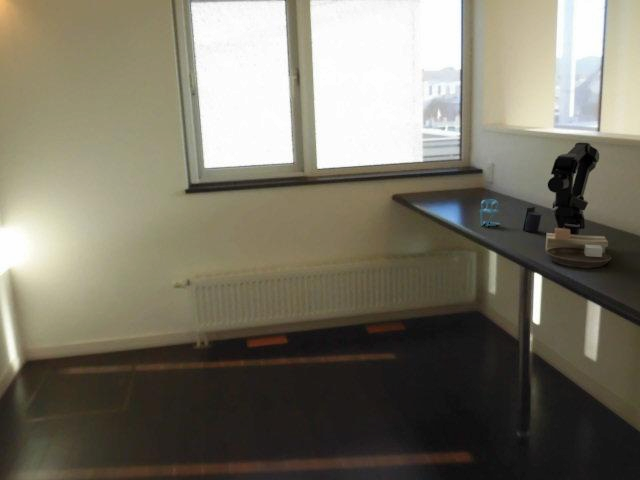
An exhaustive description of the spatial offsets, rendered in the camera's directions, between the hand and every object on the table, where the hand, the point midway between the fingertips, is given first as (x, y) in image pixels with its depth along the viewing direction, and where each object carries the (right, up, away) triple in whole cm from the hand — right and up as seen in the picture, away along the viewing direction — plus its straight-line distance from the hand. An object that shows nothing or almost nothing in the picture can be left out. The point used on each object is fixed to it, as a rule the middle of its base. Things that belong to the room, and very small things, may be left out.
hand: (560, 230), depth 226 cm
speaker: (+1, 0, +33) cm, 34 cm away
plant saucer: (-1, -12, -18) cm, 22 cm away
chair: (-14, +3, +47) cm, 49 cm away
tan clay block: (-3, -3, -8) cm, 9 cm away
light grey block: (+3, -6, -22) cm, 22 cm away
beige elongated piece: (+3, -9, -7) cm, 11 cm away
